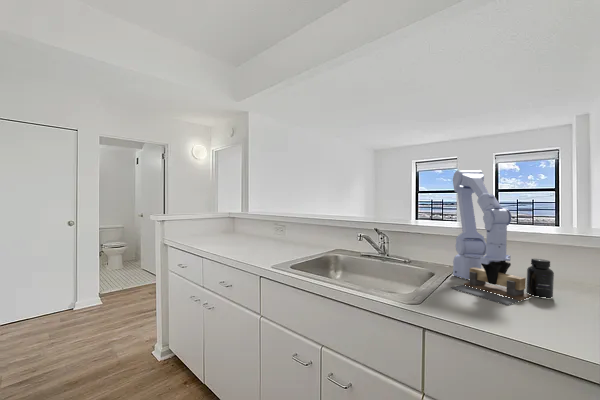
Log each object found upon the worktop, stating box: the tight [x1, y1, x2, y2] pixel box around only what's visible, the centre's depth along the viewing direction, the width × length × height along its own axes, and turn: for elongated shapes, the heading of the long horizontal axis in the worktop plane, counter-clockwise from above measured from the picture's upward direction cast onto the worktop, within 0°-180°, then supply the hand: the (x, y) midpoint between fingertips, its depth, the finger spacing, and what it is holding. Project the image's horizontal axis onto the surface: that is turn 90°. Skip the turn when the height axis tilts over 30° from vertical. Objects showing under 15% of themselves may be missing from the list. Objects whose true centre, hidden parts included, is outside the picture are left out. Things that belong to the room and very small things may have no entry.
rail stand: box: [463, 272, 533, 302], centre depth 98 cm, size 18×7×6 cm, turn 28°
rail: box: [469, 267, 527, 290], centre depth 98 cm, size 16×4×4 cm, turn 28°
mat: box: [450, 284, 520, 306], centre depth 94 cm, size 18×7×1 cm, turn 28°
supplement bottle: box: [525, 258, 555, 298], centre depth 94 cm, size 7×7×12 cm
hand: (495, 283), depth 98 cm, fingers closed on rail, 3 cm apart
